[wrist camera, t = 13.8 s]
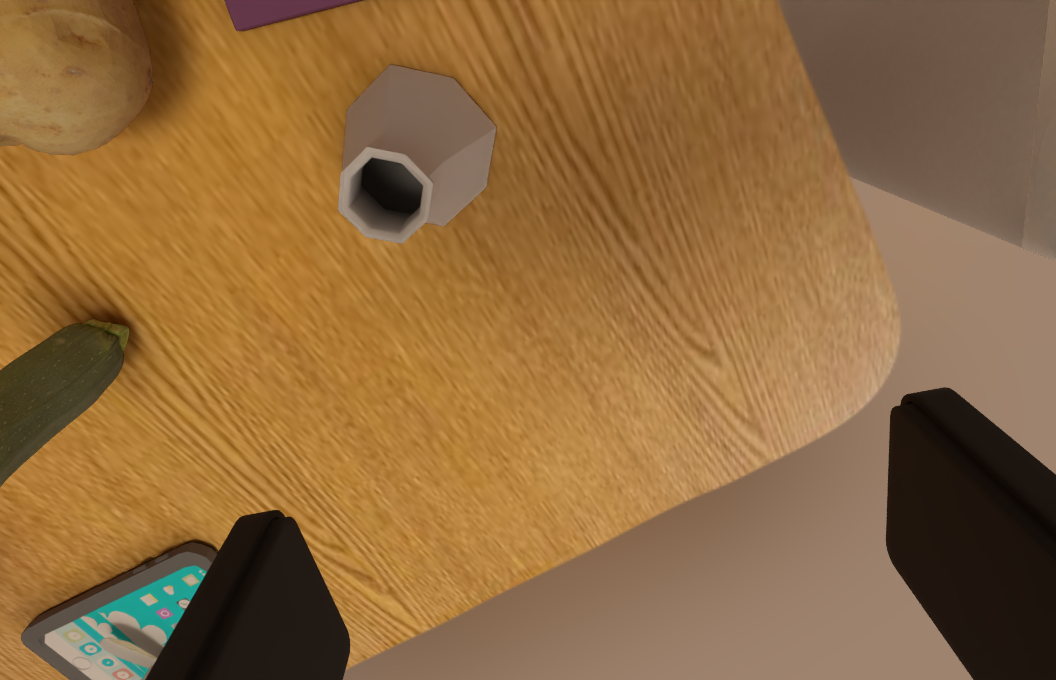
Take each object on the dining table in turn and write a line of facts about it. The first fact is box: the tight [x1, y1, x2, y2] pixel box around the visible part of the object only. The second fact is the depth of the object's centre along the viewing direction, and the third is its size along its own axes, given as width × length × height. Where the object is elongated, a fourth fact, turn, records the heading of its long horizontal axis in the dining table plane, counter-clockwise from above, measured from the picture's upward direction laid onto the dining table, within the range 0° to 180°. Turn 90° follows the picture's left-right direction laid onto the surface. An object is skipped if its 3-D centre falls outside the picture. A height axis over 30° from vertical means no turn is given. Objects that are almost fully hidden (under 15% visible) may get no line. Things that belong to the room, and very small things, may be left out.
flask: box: [338, 64, 497, 244], centre depth 26 cm, size 7×7×10 cm
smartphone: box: [21, 542, 217, 680], centre depth 42 cm, size 9×1×15 cm
